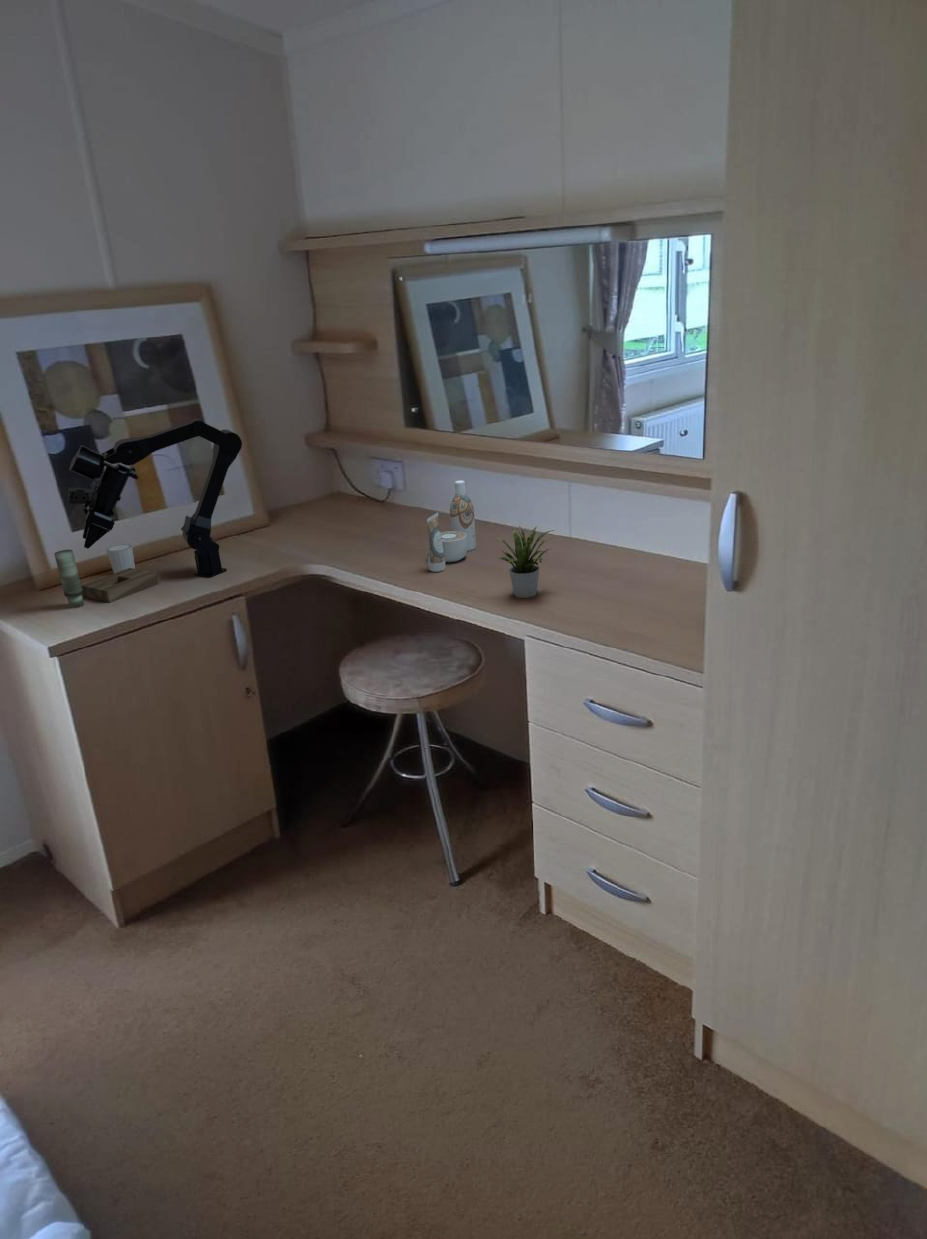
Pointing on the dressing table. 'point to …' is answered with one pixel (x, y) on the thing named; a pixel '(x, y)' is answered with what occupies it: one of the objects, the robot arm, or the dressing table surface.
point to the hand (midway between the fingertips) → (85, 543)
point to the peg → (69, 577)
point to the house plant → (524, 564)
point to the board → (119, 584)
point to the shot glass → (121, 557)
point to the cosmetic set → (452, 532)
